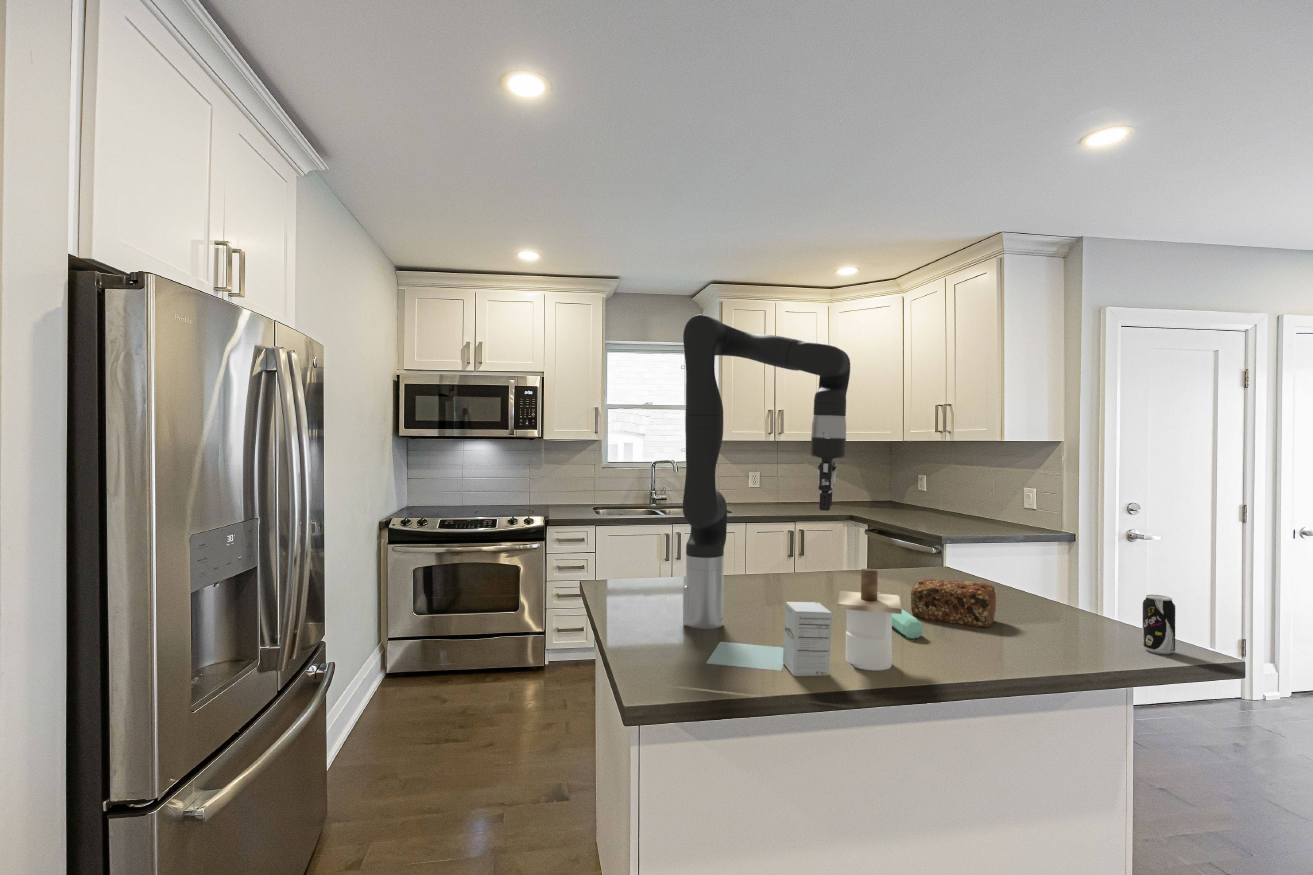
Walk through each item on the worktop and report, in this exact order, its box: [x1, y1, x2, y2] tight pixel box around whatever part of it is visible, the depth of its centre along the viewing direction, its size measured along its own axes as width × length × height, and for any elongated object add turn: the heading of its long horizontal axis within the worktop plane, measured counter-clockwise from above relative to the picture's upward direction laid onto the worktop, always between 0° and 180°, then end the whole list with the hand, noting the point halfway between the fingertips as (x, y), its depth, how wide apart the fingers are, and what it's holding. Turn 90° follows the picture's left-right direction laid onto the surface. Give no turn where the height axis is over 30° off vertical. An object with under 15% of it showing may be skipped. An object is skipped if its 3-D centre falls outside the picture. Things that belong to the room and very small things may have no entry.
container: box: [877, 591, 924, 639], centre depth 167 cm, size 6×6×25 cm
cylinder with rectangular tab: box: [845, 609, 893, 671], centre depth 138 cm, size 9×9×12 cm
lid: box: [837, 568, 903, 614], centre depth 138 cm, size 12×12×7 cm
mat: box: [706, 641, 785, 672], centre depth 141 cm, size 15×15×1 cm
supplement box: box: [783, 601, 833, 677], centre depth 133 cm, size 7×7×13 cm
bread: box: [910, 578, 997, 628], centre depth 173 cm, size 19×11×10 cm, turn 52°
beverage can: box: [1141, 594, 1176, 655], centre depth 147 cm, size 6×6×12 cm
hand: (825, 508), depth 151 cm, fingers open, 8 cm apart
